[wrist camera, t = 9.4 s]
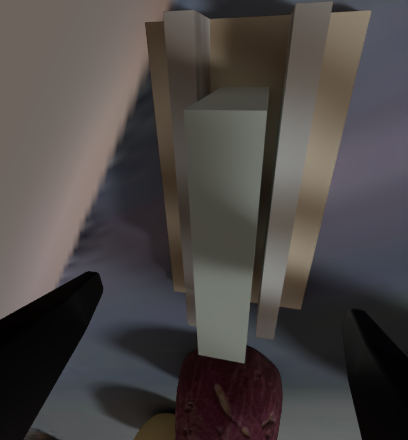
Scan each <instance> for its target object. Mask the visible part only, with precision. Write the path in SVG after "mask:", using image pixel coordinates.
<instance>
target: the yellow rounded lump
mask: <svg viewBox="0 0 408 440" xmlns="http://www.w3.org/2000/svg"><path fill="white" fill-rule="evenodd" d="M175 435H176V434H175V414H172V413H160V414H157V415H155V416H153V417H152V418H151V419H149V420H148V421H147V422H146V423H145V424H144V425H143V426H142V428H141V429H140V430H139V432H138V433H137V435H136V436H135V438H134V440H175Z"/></svg>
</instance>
